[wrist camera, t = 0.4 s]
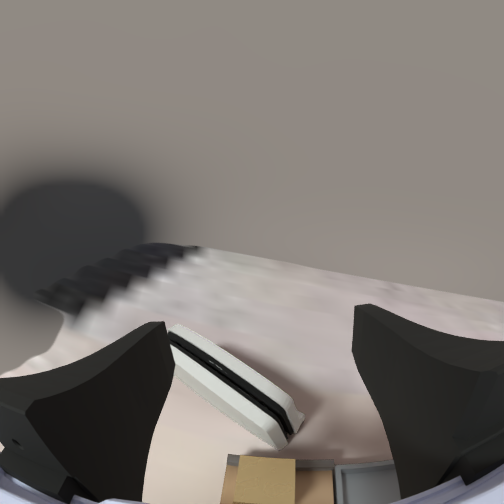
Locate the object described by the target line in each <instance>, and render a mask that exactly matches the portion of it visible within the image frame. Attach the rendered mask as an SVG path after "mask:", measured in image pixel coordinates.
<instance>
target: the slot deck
mask: <svg viewBox="0 0 504 504" xmlns="http://www.w3.org/2000/svg"><path fill="white" fill-rule="evenodd" d="M239 459H240V455H233V454H228V458H227V466H226V472H225V478H224V484H223V490H222V495H221V501H220V504H233V499H234V493H235V486H236V479H237V472H238V466H239ZM334 467H335V466H334V460H295V504H334V497H333V480H332V470H333V468H334Z"/></svg>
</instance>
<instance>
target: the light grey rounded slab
mask: <svg viewBox="0 0 504 504" xmlns="http://www.w3.org/2000/svg"><path fill="white" fill-rule="evenodd" d="M167 334H168V338H169V342H170V346H171V350H172V353H173V357H174V361H175V364H176V365H175V370H174V376H175V377H176V378H178V379H179V380H180V381H181V382H182V383H184V384H185V385H186V386H187V387H189V388H190V389H191V390H192V391H194V392H195V393H196V394H197V395H199V396H200V397H201V398H202V399H204V400H205V401H206V402H208V403H209V404H210V405H212V406H213V407H214V408H216V409H217V410H218V411H220V412H221V413H223V414H224V415H225V416H227V417H228V418H230V419H231V420H232V421H234V422H235V423H237V424H238V425H240V426H241V427H243V428H244V429H246V430H247V431H249V432H250V433H252V434H253V435H255V436H256V437H258V438H259V439H261V440H262V441H264V442H266V443H267V444H269V445H270V446H272V447H274V448H275V449H277V450H279V451H280V450H281V449H283V448H284V447H285V446H286V445H288V442H287V440H288V437H287V435H286V433H285V432H287V433H289V434H290V435H291V434H292V433H293V432H294V433H297V431H298V429H299V427H300V425H301V423H302V422H304V420H305V414H303V413H301V412H299V411H298V410H296V407H295V404H294V400H293V399H292V398H291V397H290V396H289V395H288V394H287V393H286V392H284V391H283V390H281V389H280V388H279V387H277V386H276V385H274V384H273V383H272V382H270V381H269V380H267V379H266V378H265V377H263V376H262V375H260V374H259V373H258V372H256V371H255V370H253V369H252V368H250V367H249V366H247V365H246V364H244V363H243V362H241V361H240V360H239V359H237V358H236V357H234V356H233V355H231V354H230V353H228V352H227V351H225V350H223V349H222V348H220V347H219V346H217V345H216V344H214V343H212V342H211V341H209V340H208V339H206V338H204V337H202V336H201V335H199V334H197V333H195V332H194V331H192V330H190V329H188V328H186V327H184V326H182V325H180V324H176V325H174V326H173V327H171V328H169V329H168V333H167Z"/></svg>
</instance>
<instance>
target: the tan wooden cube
mask: <svg viewBox="0 0 504 504" xmlns="http://www.w3.org/2000/svg"><path fill="white" fill-rule="evenodd" d="M233 504H295V459H282V458H266V457H255V456H245V455H240V459H239V466H238V472H237V479H236V486H235V493H234V499H233Z"/></svg>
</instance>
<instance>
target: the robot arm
mask: <svg viewBox="0 0 504 504" xmlns="http://www.w3.org/2000/svg"><path fill="white" fill-rule="evenodd" d="M352 353H353V357H354V360H355V363H356V366H357V369H358V372H359V374H360V376H361V378H362V380H363V382H364V384H365V386H366V388H367V390H368V392H369V394H370V396H371V398H372V400H373V402H374V404H375V406H376V408H377V410H378V412H379V415H380V417H381V419H382V422H383V425H384V428H385V431H386V434H387V438H388V441H389V445H390V448H391V452H392V456H393V460H394V464H395V469H396V473H397V478H398V483H399V490H400V496H401V500H399V501H396V502H393V503H390V504H504V341H487V340H477V339H471V338H465V337H459V336H454V335H450V334H447V333H443V332H439V331H436V330H433V329H430V328H427V327H425V326H422V325H419V324H417V323H414V322H412V321H409V320H407V319H405V318H402V317H400V316H398V315H396V314H394V313H391V312H389V311H387V310H385V309H383V308H380V307H378V306H375V305H372V304H364V305H357V306H355V307H354V326H353V341H352ZM175 365H176V364H175V361H174V357H173V353H172V350H171V346H170V342H169V338H168V334H167V330H166V326H165V322H164V321H162V322H148V323H146V324H144V325H142V326H140V327H138V328H137V329H135V330H133V331H132V332H130V333H128V334H127V335H125V336H123V337H122V338H120V339H118V340H117V341H115V342H113V343H112V344H110V345H108V346H106V347H104V348H103V349H101V350H99V351H97V352H95V353H93V354H91V355H89V356H87V357H85V358H83V359H80V360H78V361H76V362H73V363H71V364H68V365H65V366H62V367H59V368H56V369H52V370H49V371H46V372H41V373H37V374H32V375H27V376H20V377H10V378H0V442H1V443H2V445H3V446H4V447H5V448H4V449H3V451H2V452H0V504H148V503H143V502H142V493H143V485H144V476H145V470H146V464H147V459H148V453H149V449H150V444H151V440H152V436H153V433H154V429H155V426H156V424H157V421H158V419H159V416H160V413H161V411H162V408H163V406H164V403H165V400H166V398H167V395H168V392H169V390H170V387H171V384H172V380H173V375H174V370H175Z"/></svg>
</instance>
